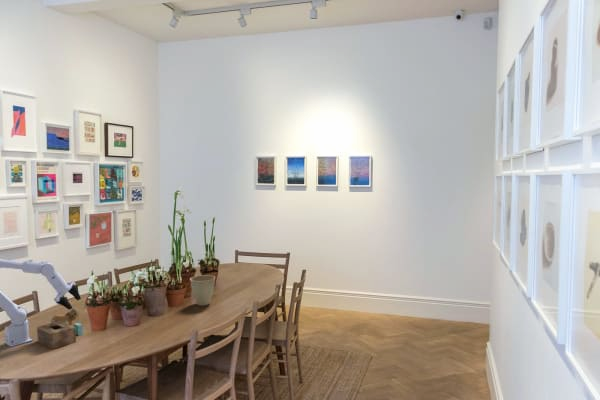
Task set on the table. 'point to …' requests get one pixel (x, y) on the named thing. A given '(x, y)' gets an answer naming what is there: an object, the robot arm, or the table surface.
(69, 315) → the lion figurine
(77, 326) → the cylinder
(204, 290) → the plant pot
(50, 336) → the box
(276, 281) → the table surface
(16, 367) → the table surface
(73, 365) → the table surface
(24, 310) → the robot arm
